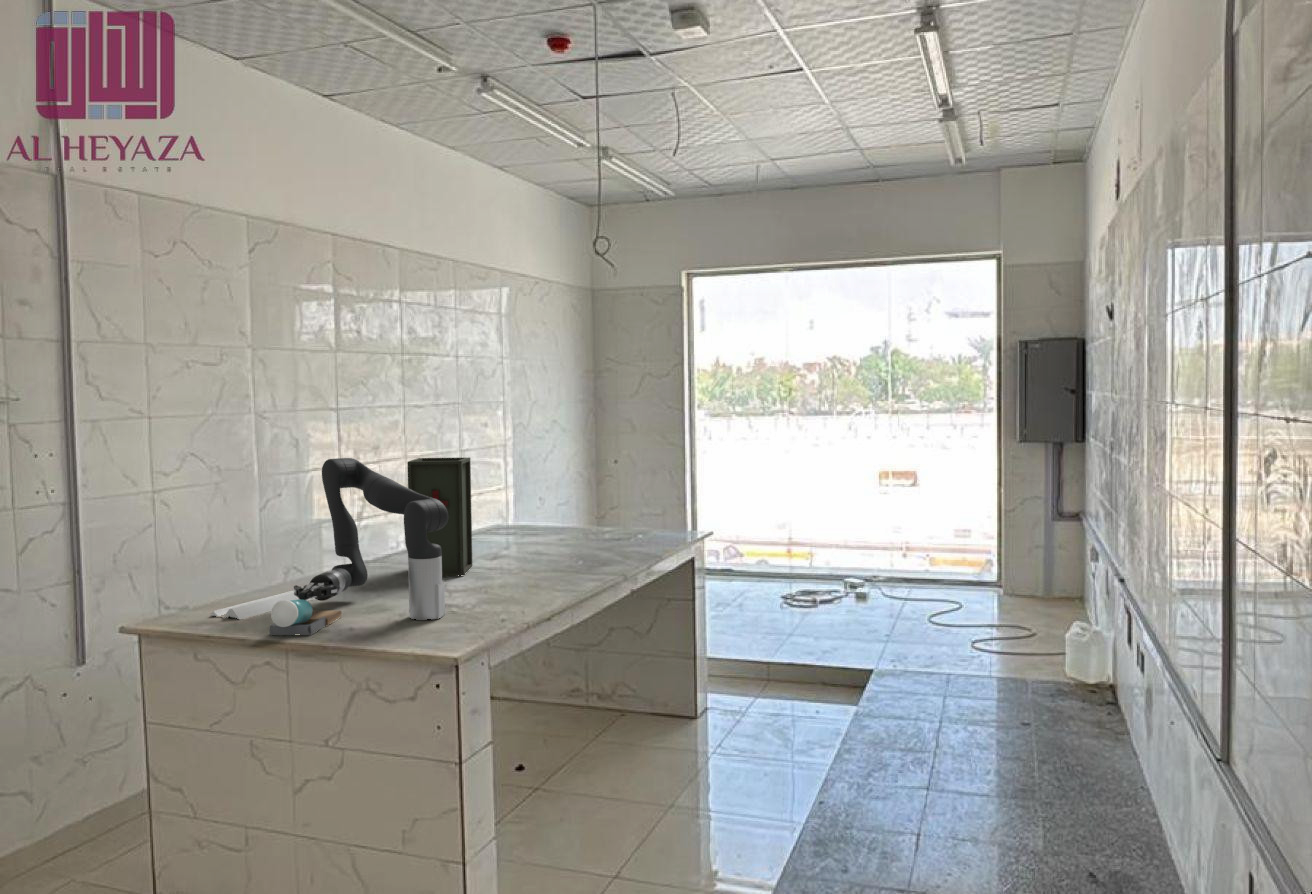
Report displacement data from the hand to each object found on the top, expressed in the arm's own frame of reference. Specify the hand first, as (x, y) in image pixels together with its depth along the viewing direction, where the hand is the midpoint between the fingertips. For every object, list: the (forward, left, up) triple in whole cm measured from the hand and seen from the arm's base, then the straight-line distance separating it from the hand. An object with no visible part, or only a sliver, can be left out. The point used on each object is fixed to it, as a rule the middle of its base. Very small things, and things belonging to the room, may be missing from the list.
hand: (302, 596), depth 257 cm
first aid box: (-16, -80, -9) cm, 83 cm away
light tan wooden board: (0, -6, -8) cm, 11 cm away
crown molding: (+21, -25, -9) cm, 34 cm away
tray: (0, +4, -8) cm, 9 cm away
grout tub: (0, +1, -4) cm, 4 cm away
